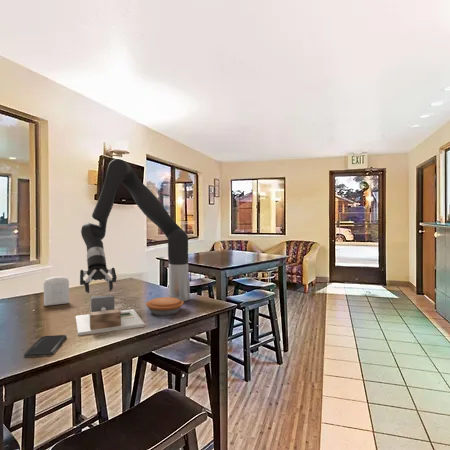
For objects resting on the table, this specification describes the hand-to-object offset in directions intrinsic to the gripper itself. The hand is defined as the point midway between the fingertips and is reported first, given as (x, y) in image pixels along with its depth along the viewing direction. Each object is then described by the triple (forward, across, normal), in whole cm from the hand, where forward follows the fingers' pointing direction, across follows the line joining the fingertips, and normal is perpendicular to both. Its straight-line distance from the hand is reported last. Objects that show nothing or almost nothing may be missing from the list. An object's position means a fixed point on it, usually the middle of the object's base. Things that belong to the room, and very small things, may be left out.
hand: (99, 291), depth 139 cm
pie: (+13, +25, +1) cm, 28 cm away
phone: (+28, -18, -14) cm, 36 cm away
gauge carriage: (+16, +3, -5) cm, 17 cm away
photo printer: (-10, -16, +24) cm, 30 cm away
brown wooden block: (+21, 0, -9) cm, 23 cm away
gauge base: (+16, +2, -3) cm, 17 cm away
